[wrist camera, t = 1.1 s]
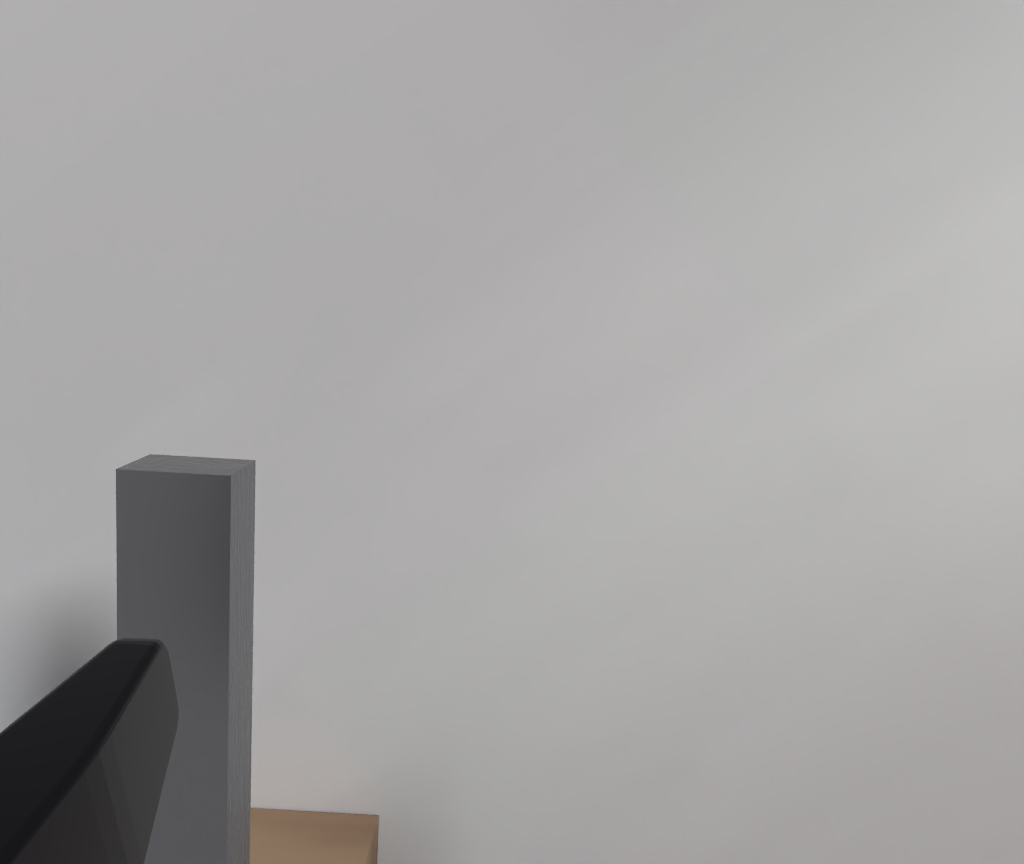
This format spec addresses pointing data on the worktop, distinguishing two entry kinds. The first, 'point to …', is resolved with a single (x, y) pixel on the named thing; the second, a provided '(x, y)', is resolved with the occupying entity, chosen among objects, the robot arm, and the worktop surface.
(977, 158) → the worktop surface
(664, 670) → the worktop surface
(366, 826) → the tan wooden block
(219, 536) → the bar
